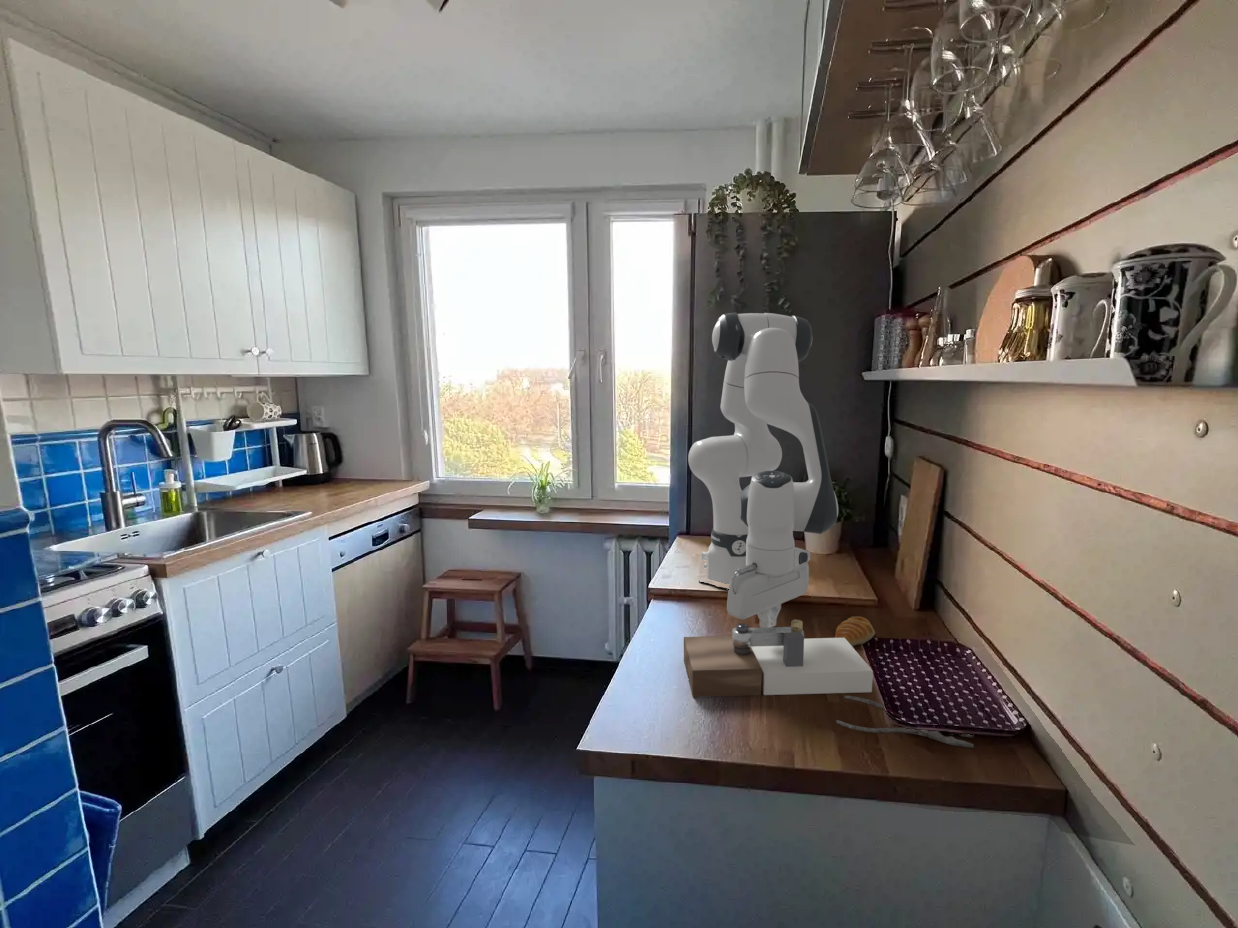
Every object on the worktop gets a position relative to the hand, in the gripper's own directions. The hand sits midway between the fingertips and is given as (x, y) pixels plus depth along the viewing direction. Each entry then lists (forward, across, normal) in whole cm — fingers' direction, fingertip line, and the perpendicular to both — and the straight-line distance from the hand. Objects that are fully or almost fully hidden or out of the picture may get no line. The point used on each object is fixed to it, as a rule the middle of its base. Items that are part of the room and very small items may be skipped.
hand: (767, 626), depth 117 cm
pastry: (+8, +22, -5) cm, 24 cm away
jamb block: (+7, -11, +2) cm, 14 cm away
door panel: (+7, +1, -8) cm, 11 cm away
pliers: (+8, +1, -26) cm, 27 cm away
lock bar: (+1, -4, -3) cm, 6 cm away
